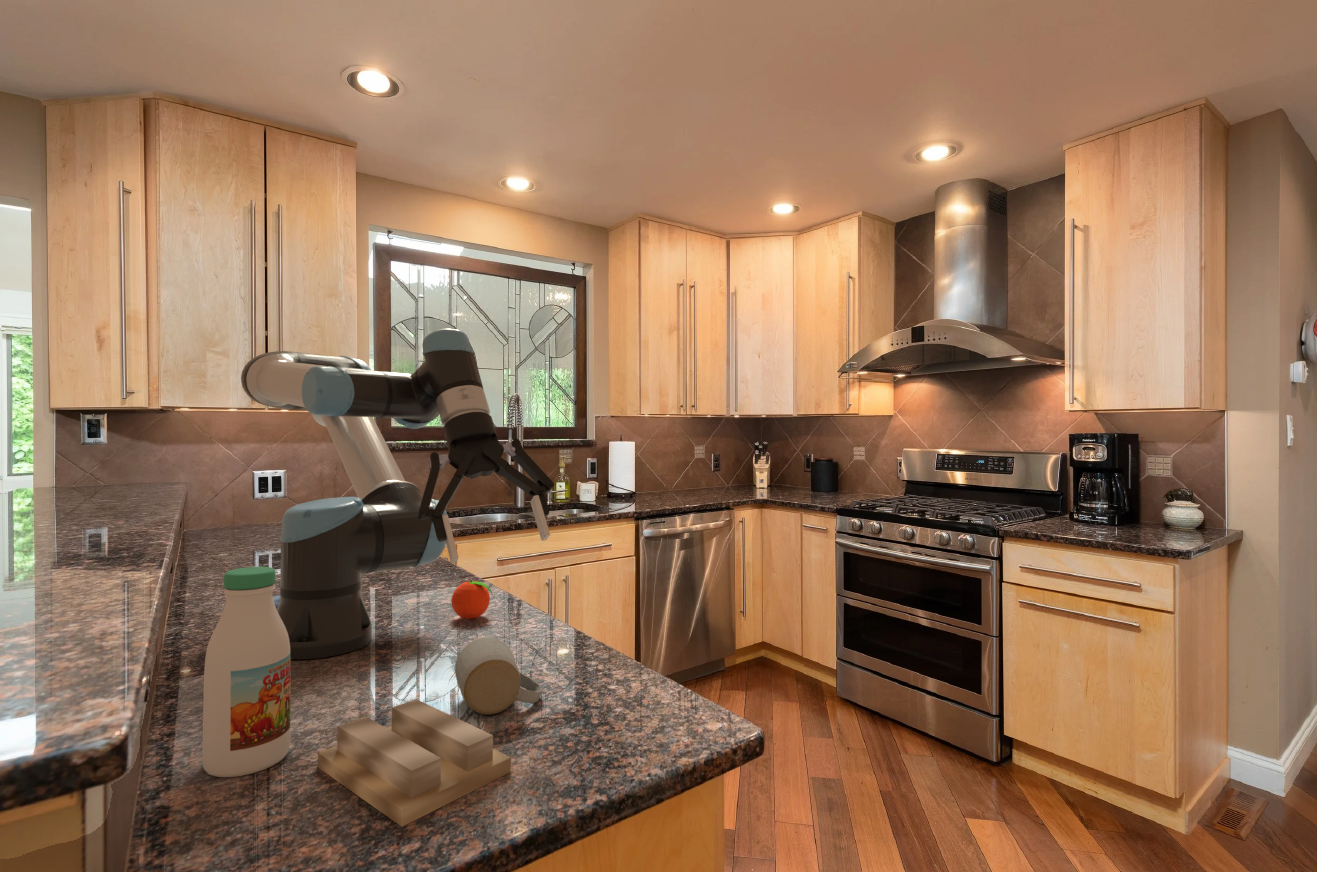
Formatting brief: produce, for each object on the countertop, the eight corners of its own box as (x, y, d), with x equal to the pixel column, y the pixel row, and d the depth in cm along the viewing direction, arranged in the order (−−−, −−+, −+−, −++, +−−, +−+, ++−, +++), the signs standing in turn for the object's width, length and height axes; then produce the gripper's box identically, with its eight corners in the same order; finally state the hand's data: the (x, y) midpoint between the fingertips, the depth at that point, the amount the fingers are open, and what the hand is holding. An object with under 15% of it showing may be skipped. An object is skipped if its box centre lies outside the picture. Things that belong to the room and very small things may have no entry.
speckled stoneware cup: (461, 722, 77) (464, 658, 77) (453, 697, 85) (455, 638, 85) (548, 710, 82) (550, 649, 82) (533, 687, 89) (535, 631, 89)
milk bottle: (193, 786, 63) (196, 580, 63) (212, 750, 70) (214, 565, 70) (284, 770, 66) (287, 574, 66) (293, 737, 73) (296, 560, 73)
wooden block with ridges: (317, 766, 67) (318, 728, 67) (422, 726, 76) (423, 692, 76) (401, 826, 57) (402, 781, 57) (510, 771, 66) (511, 732, 66)
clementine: (501, 615, 123) (501, 577, 123) (483, 625, 117) (484, 586, 117) (463, 612, 125) (463, 575, 125) (443, 621, 118) (444, 583, 118)
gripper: (382, 422, 92) (414, 564, 86) (548, 398, 104) (587, 522, 98) (381, 443, 99) (411, 577, 92) (538, 418, 110) (574, 536, 104)
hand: (501, 549), depth 95 cm, fingers open, 13 cm apart
